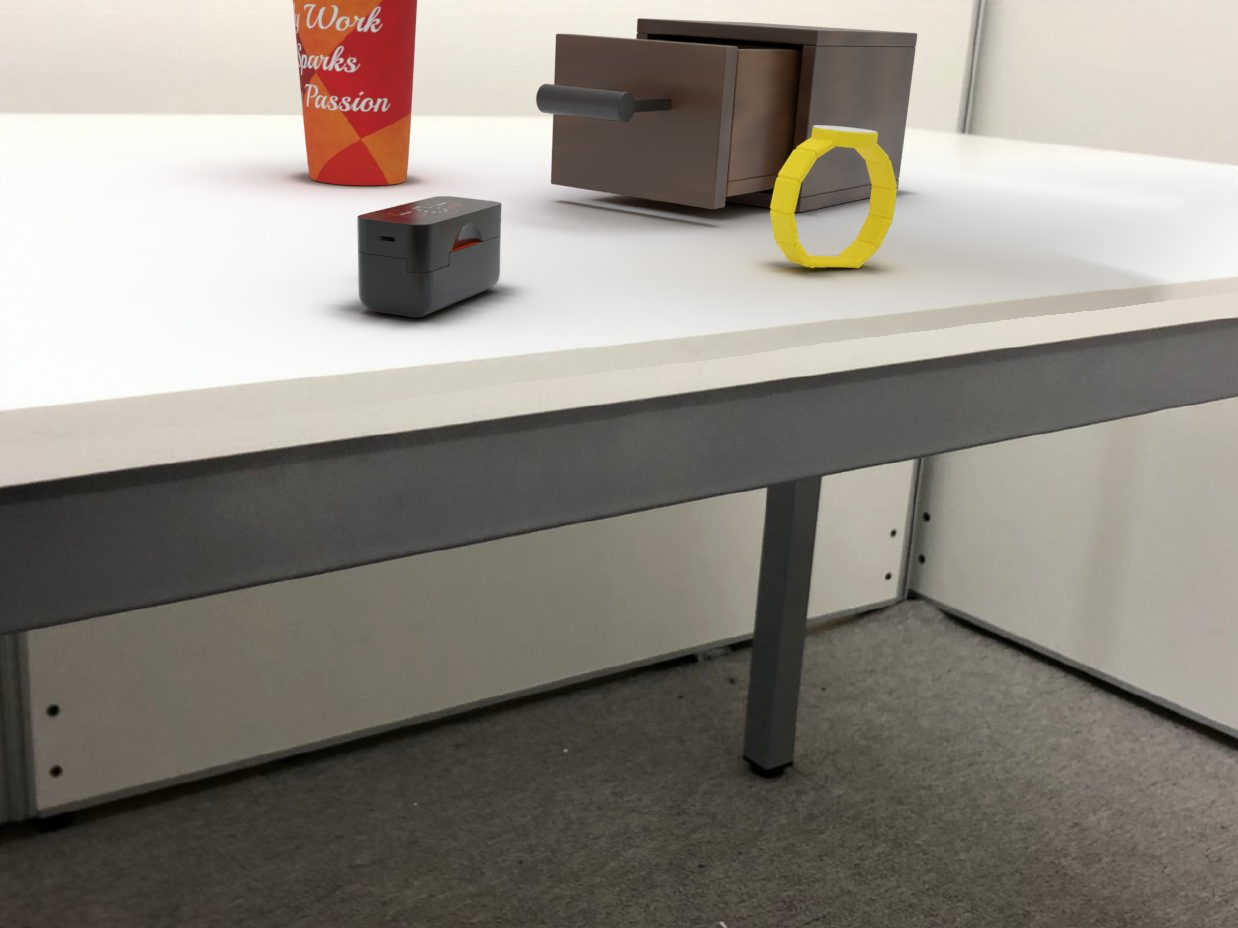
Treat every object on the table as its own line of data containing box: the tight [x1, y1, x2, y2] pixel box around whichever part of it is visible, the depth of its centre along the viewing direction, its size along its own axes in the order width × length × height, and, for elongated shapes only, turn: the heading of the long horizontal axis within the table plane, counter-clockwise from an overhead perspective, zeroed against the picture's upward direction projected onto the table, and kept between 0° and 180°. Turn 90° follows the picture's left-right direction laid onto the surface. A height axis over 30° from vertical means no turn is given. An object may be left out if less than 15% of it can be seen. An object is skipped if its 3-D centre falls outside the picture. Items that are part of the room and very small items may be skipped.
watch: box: [769, 125, 898, 269], centre depth 54 cm, size 6×3×6 cm, turn 121°
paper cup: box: [292, 0, 418, 187], centre depth 71 cm, size 8×8×14 cm
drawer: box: [535, 33, 803, 210], centre depth 68 cm, size 17×10×8 cm, turn 145°
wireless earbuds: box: [356, 195, 502, 318], centre depth 46 cm, size 5×7×3 cm, turn 159°
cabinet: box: [635, 17, 918, 213], centre depth 77 cm, size 14×12×10 cm
